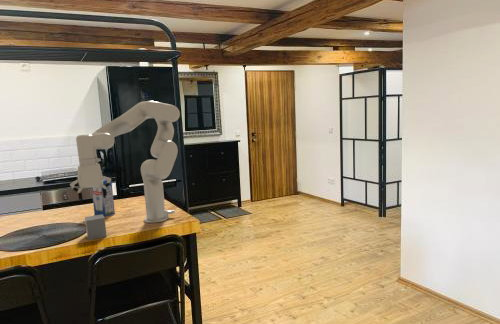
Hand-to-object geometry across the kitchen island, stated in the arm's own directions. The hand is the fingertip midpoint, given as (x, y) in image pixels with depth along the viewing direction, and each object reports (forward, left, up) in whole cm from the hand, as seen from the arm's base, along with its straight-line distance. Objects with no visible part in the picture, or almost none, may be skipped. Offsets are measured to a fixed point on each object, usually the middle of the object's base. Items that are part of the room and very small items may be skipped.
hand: (93, 199), depth 166 cm
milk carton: (-8, -39, -18) cm, 44 cm away
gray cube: (0, 0, -17) cm, 17 cm away
